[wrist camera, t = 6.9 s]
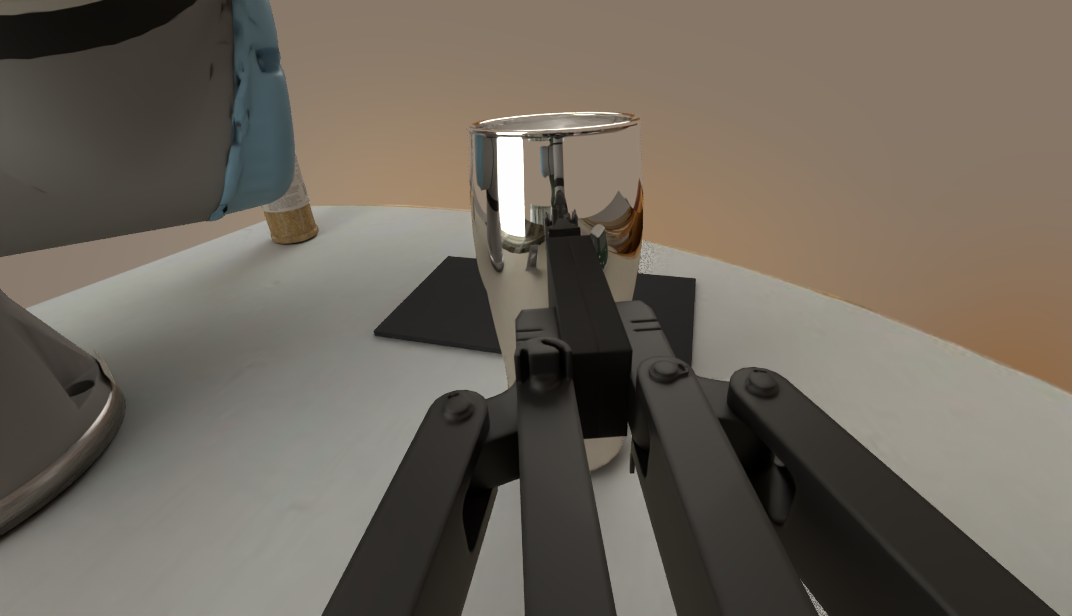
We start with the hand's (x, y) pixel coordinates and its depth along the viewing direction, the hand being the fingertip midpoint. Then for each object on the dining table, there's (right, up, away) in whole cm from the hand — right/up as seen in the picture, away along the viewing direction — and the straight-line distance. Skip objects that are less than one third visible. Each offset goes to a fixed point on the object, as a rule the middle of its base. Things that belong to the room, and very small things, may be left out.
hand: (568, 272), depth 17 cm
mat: (-1, -1, +19) cm, 19 cm away
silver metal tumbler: (0, -8, +8) cm, 11 cm away
